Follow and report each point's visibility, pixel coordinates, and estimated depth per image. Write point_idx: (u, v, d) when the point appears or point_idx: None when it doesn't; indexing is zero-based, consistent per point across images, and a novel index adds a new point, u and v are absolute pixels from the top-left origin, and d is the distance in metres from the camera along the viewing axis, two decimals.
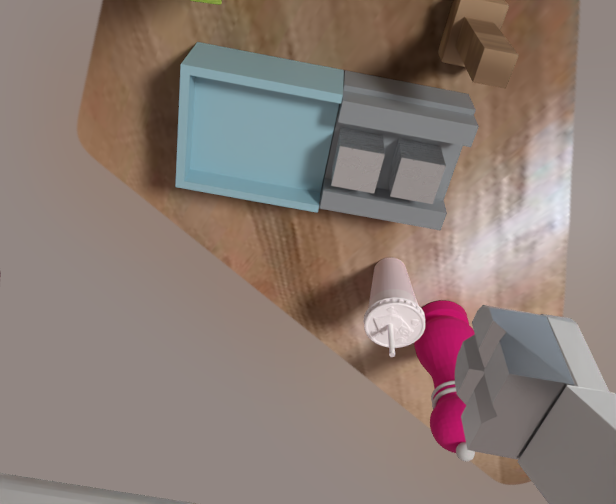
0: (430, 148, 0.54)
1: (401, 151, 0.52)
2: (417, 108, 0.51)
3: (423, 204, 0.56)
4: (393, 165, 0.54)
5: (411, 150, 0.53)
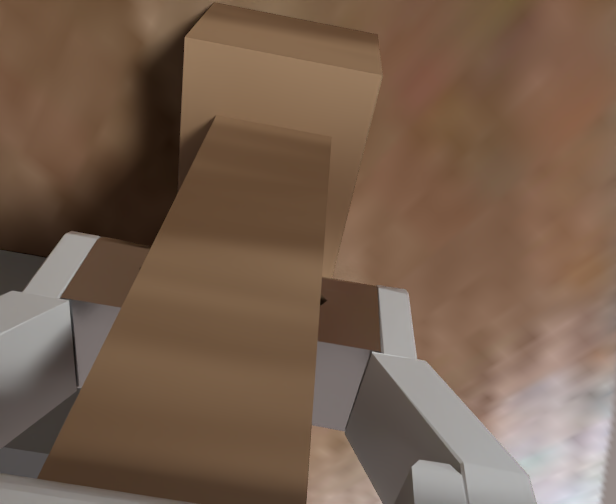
0: None
1: None
2: None
3: None
4: None
5: None
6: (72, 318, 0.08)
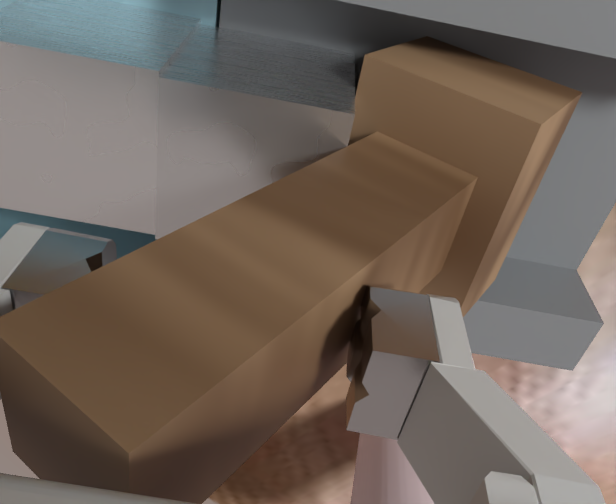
0: (310, 57, 0.14)
1: (177, 58, 0.13)
2: None
3: (522, 290, 0.17)
4: None
5: (226, 56, 0.13)
6: (14, 308, 0.08)
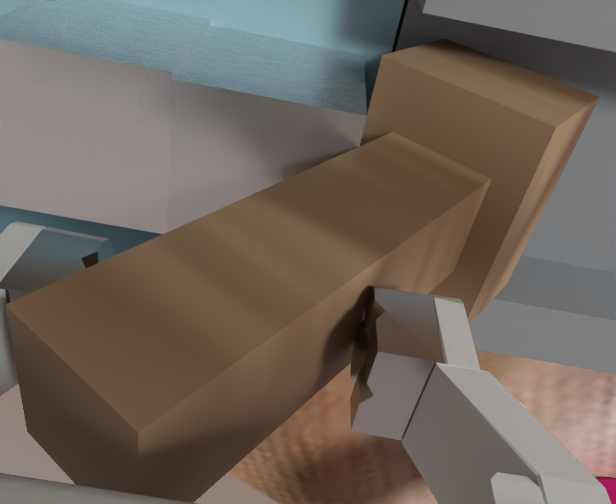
0: (321, 59, 0.14)
1: (190, 59, 0.13)
2: None
3: None
4: None
5: (237, 58, 0.13)
6: None
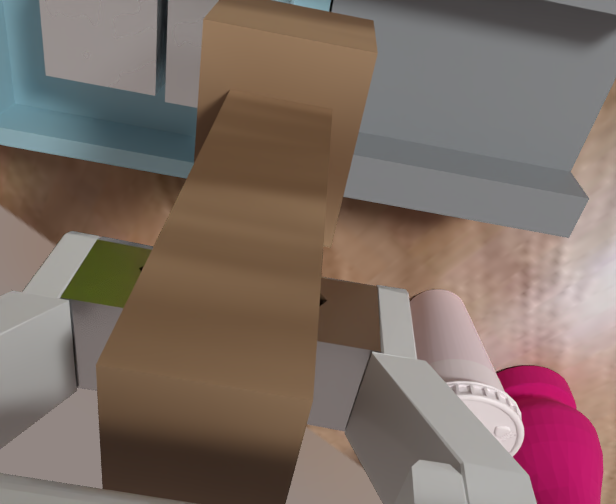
0: None
1: None
2: None
3: (533, 179, 0.25)
4: None
5: None
6: (72, 318, 0.08)
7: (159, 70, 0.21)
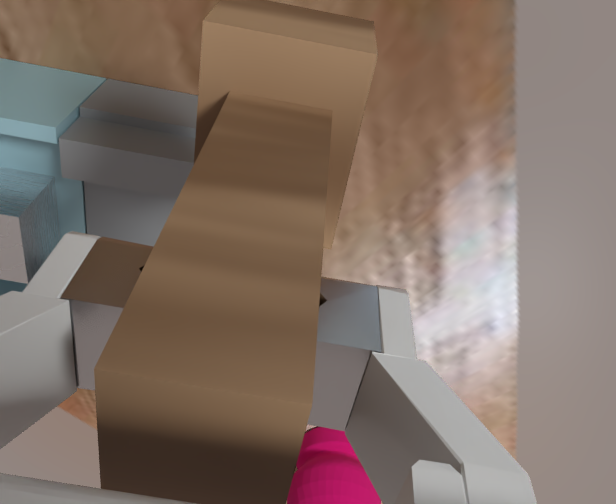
0: (24, 182, 0.29)
1: None
2: None
3: None
4: None
5: None
6: (72, 318, 0.08)
7: None
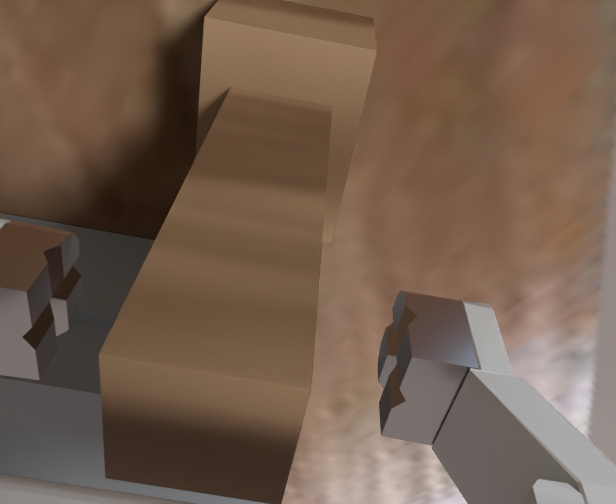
0: None
1: None
2: None
3: None
4: None
5: None
6: None
7: None
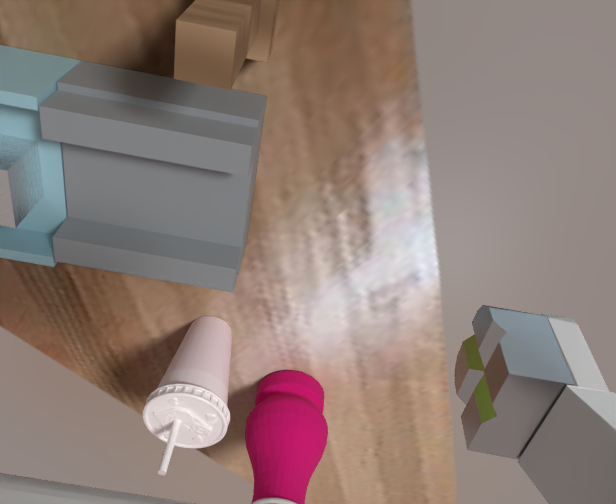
0: (13, 144, 0.36)
1: None
2: (165, 117, 0.34)
3: (205, 255, 0.39)
4: None
5: None
6: None
7: None
